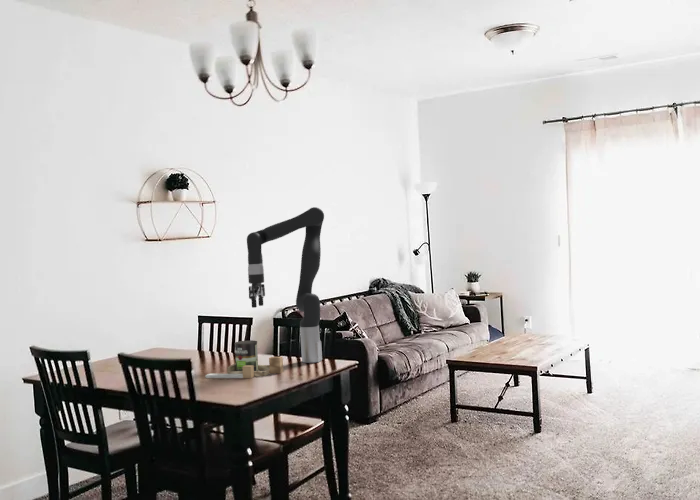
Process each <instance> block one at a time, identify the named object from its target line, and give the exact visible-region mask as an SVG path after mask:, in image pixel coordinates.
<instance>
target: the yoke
mask: <svg viewBox="0 0 700 500" xmlns="http://www.w3.org/2000/svg"><path fill="white" fill-rule="evenodd" d="M261 370H263V371H261ZM276 373H277V374H279V375H280V374H283V373H284V358H283V356H271V357H268V364H258V371H254V377H266V376H268V375H270V374H276ZM226 374H243V371H236V363H234V364H231V365H230V366H227V367H226Z"/></svg>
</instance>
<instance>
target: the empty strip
mask: <svg viewBox="0 0 700 500" xmlns="http://www.w3.org/2000/svg"><path fill="white" fill-rule="evenodd" d="M242 369H243V374H227V373H207V374H205V378H206V379H253V378H254V377H255V376H254V365H245V366H243V367H242Z"/></svg>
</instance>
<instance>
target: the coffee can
mask: <svg viewBox="0 0 700 500" xmlns="http://www.w3.org/2000/svg"><path fill="white" fill-rule="evenodd" d="M234 353H235V364H236V371H243V369H242V367H243V366H245V365H254V371H259V370H258V365H259V357H258V354H259V353H258V341H257V340H254V339H253V340H252V339H251V340H240V341H236V342H234Z"/></svg>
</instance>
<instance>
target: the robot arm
mask: <svg viewBox="0 0 700 500" xmlns="http://www.w3.org/2000/svg"><path fill="white" fill-rule="evenodd" d="M324 220H325V213H324V211H323V210H322V208H319V207H310V208H309V209H307V210H306V211H303V212H302V213H300V214H298V215H296V216H293V217H292V218H290V219H287V220H284V221H279V222H277V223H275V224H272V225H270V226H266V227H265V228H262V229H260V230H257V231H253V232H251V233H249V234H248V235H247V236H246V245H247V254H248V255H247V263H248V265H247V272H248V274H247V275H248V277H247V278H248V279H247V280H248V284H251V286H248V299H250V300H251V308H253V309H255V308H257V307H258V306H260V307H261V306H262V307H263V306H264V297H266V290H265V284H263V283H265V273H264V271H265V270H264V262H263V261H264V260H263V253H262V245H263V244H266V243H268V242H271V241H275V240H277V239H280V238H283V237H285V236H287V235H290V234H291V233H293V232H295V231H298V230H300V229H304V228H305V235H304V241H303V247H302V252H301V261H300V274H299V283H298V287H297V289H298V290H297V293H296V298H295V305H296V308H297V309H298V311H299V312H303V318H302V319H301V320H300V321H299V329H300V330H299V331H300V347H301V348H300V349H301V351H300V352H301V363H307V364H312V363H314V364H315V363H320V362H322V360H323V351H322V349H323V348H322V341H321V339H320V337H321V336H320V321H321V302H320V298H319V295H317V294H315V293H313V291H312V288H313V283H314V280H315V278H316V276H317V275H318V273H319V269H320V265H321V233H322V226H323V223H324ZM257 297H258V303H257ZM257 304H258V305H257Z"/></svg>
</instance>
